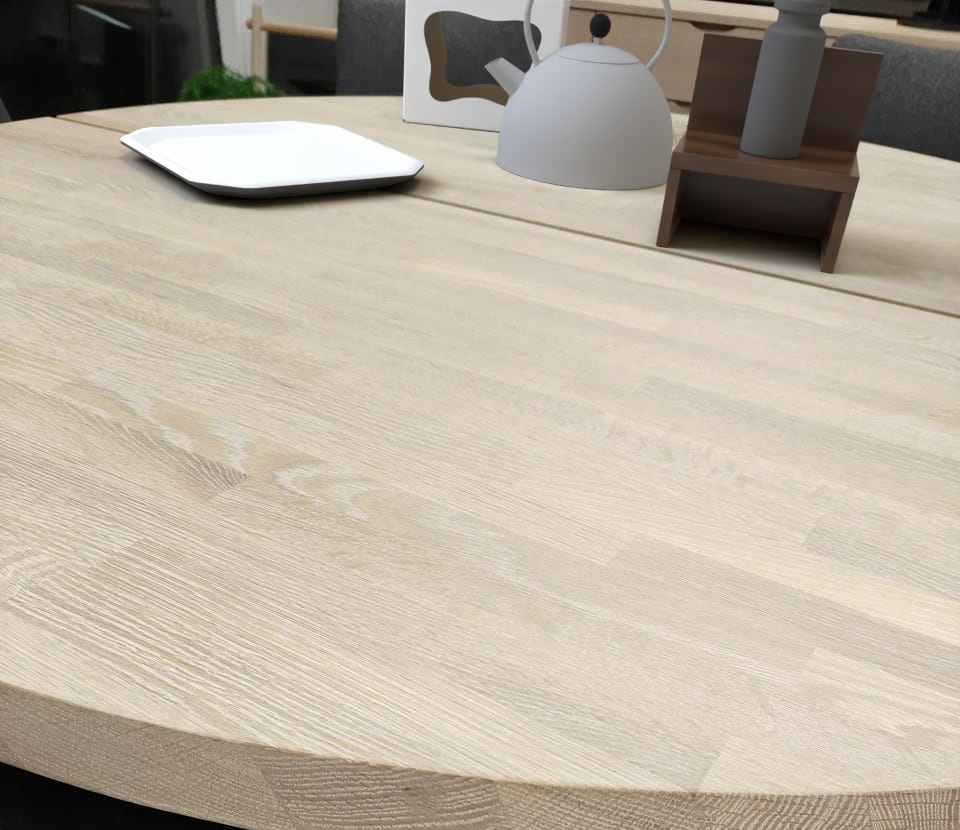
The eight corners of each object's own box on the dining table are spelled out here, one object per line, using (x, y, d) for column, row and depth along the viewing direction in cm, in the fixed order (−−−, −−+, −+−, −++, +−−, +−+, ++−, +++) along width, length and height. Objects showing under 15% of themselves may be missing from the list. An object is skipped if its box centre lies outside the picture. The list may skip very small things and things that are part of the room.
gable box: (400, 121, 145) (406, -120, 128) (417, 106, 155) (424, -118, 138) (552, 138, 144) (578, -103, 127) (558, 122, 154) (583, -103, 137)
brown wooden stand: (671, 214, 114) (705, 31, 103) (831, 238, 111) (883, 52, 100) (655, 245, 103) (691, 45, 92) (832, 273, 100) (890, 69, 89)
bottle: (802, 152, 102) (845, -22, 93) (791, 162, 98) (836, -20, 89) (746, 143, 104) (783, -29, 95) (733, 152, 99) (771, -28, 90)
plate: (209, 212, 100) (207, 188, 99) (107, 149, 118) (104, 128, 117) (445, 190, 115) (446, 169, 114) (322, 137, 133) (322, 118, 131)
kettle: (481, 180, 120) (497, -46, 106) (475, 141, 138) (488, -57, 124) (684, 195, 122) (725, -25, 108) (652, 154, 140) (684, -39, 126)
